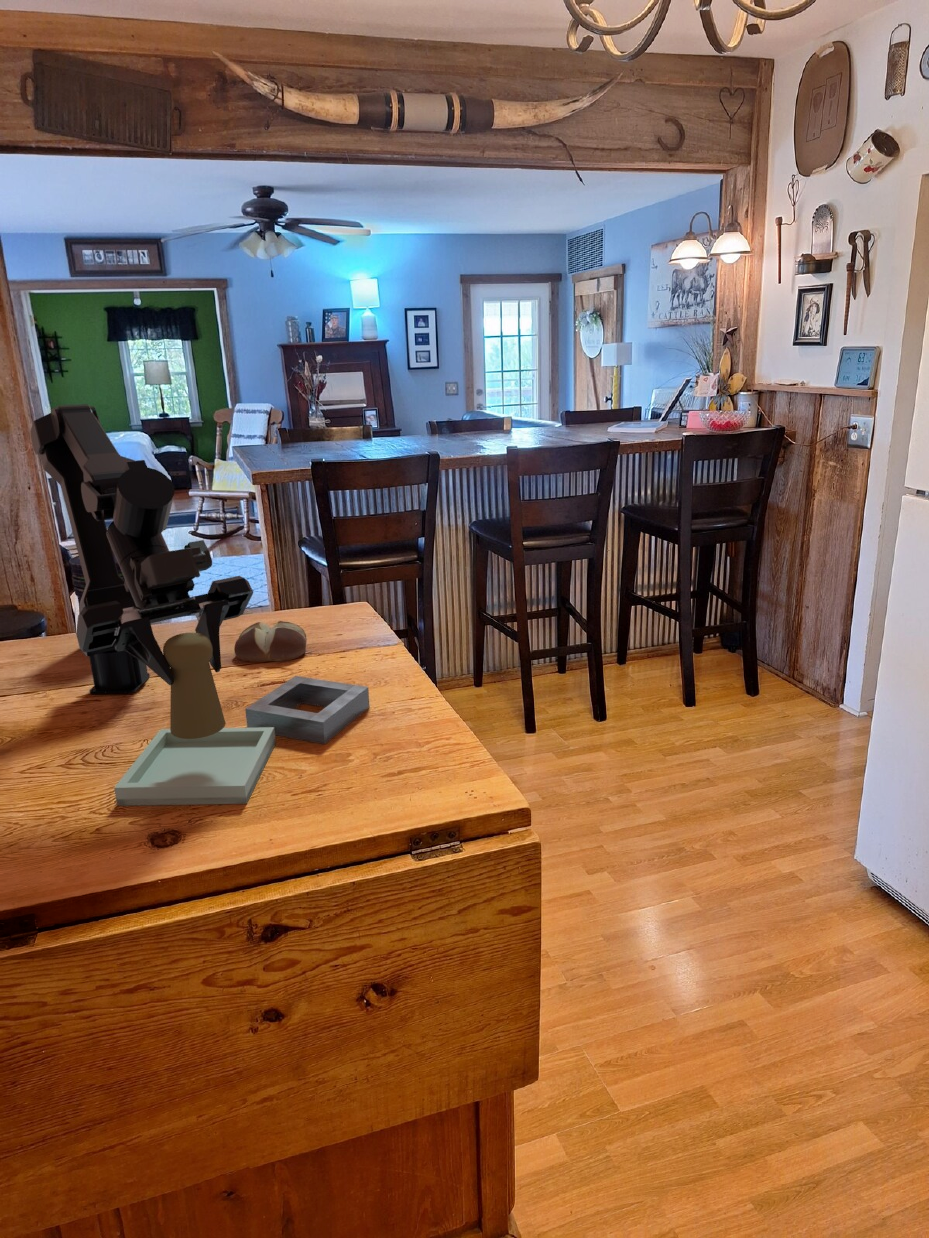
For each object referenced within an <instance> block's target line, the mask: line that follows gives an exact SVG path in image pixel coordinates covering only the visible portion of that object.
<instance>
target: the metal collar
mask: <svg viewBox="0 0 929 1238" xmlns="http://www.w3.org/2000/svg"><path fill="white" fill-rule="evenodd" d="M369 694H370V693H369V686H366V685H365V686H364V685H358V684H353V683H352V684H351V683H345V682H338V681H333V680H325V679H319V678H313V677H312V678H311V677H306V676H301V675H300V676H298V675H294V676H293V677H292V678H290V679H288V680H287V681H285V682H283V684H281V685H279V686H278V687H276V688H274V689H273V690H272V691H270V692H269V693H267V694H265V695H264V696H262V697H261V698H260V699H258V700H256V701H254V702H253V703H252V704H249V706H247V707H246V708H245V709H244V711H245V718H246V720H245V721H246V728H258V727H274V730H275V736H279V737H283V738H289V739H295V740H298V741H299V740H301V741H305V742H310V743H317V744H320V745H321V744H322V745H326V744H327V743H328V742H330V741H331V740H332V739H333V738H335V737H336V735H339V733H341V731H343V730H344V729H345V728H346V727H348V726H349V725H350V724H351V723H352V722H353V721H354V720H356V719H358V717H360V716H361V715H362V714H363V713H365V712H366V711H367V710H368V709H369V708H370V695H369ZM301 704H305V705H309V706H310V705H312V706H316V707H323V709H322V710H320V711H319V712H312V711H308V710H307V711H306V710H302V709H301V710H300V709H296V708H297V707H298V706H299V705H301Z"/></svg>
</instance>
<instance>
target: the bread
mask: <svg viewBox="0 0 929 1238" xmlns="http://www.w3.org/2000/svg"><path fill="white" fill-rule="evenodd" d="M306 648H307V635H306V632H305V630H304V629H303V628H302V627H301V626H300V625H298V624H297V623H293V622H290V621H282V620H279V621H277V622H276V623H275V624H274V625H273V626H272V627H271V626H270V625H268V624H267V623H264V622H259V621H258V622H255V623H254V624H251V625H249V626H248V627H246V628H245V629H243V630H242V632H241V633H240V635H239V636H238V639H236V641H235V644H234V648H233V649H234V654H235V656H236V657H237V659H239V660H240V661H243V662H248V661H250V662H251V663H265V662H287V661H292V660H295V659H298V658H300V657H302V655H303V654H304V653H306ZM264 661H265V662H264ZM250 662H249V663H250Z"/></svg>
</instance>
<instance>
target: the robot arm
mask: <svg viewBox="0 0 929 1238" xmlns="http://www.w3.org/2000/svg"><path fill="white" fill-rule="evenodd" d="M99 417H100V416H98V413H97V410H96V408H95V407H94V405H89V404H65V405H57V406H56V407H52V409H51V411H50V413H47V414H45V415H42V416H41V417H39V418H37V419H35V420H33V422H32V425H31V428H30V440H31V445H32V448H33V451H34V454H35V455H36V456H37V455H39V458H40V461H41V465H42V468H43V470H44V471H45V472H46V473H47V474H48V475H49V476H50V477H51V478H52V479H54V480H55V482H57V484H59V485H60V488H61V492H62V497H63V500H64V504H65V505H64V506H65V508H66V509H65V510H66V511H67V515H68V520H69V524H70V528H71V531H72V535H73V539H74V543H75V547H76V551H77V554H78V555H77V556H79V559H80V563H81V567H82V571H83V575H84V578H85V583H86V587H85V589H84V592H83V595H82V598H81V601H80V603H79V602H78V608H79V614H77V615H78V616H77V621H76V622H77V624H76V632H75V634H76V639H77V643H78V647H79V649H80V650H81V652H82V653H83V654H84V655H85V656H86V658H87V657H88V658H89V664H90V669H91V676H92V680H93V686H92V687H91V688H90V689H89V690H88V692H89V694H90V695H100V694H101V695H109V694H112V695H113V694H118V695H119V694H134V693H136V692H137V691H138V690H139V689H140V688H141V687H142V685H144V683H146V682H147V680H149V679H150V677H151V675H150V673H149V672H148V668H149V669H150V670H151V671H152V672H154V673H155V674H156V675H157V676H158V677H159V678H160V679H162V680H163V681H164V682H165V683H166V684H167V685H168V686H171V685H173V683H174V677H173V674H172V672H171V667H170V666H169V664H168V663H167V661H166V659H165V657H164V655H163V650H162V649H161V647H160V645H159V643H158V641H157V640H156V638H155V634H154V633H153V632H154V631H153V627H152V624H155V623H159V622H164V621H169V620H172V619H177V618H181V617H185V616H190V615H195V618H196V620H197V624H196V627H195V629H194V632H195V633H200V634H203V635H205V636H207V637H208V638H209V639H210V642H211V644H212V648H213V654H212V658H211V659H210V661H209V664H210V667H212V669H213V670H214V672H215V673H219V672H220V671H221V669H222V660H221V642H220V627H221V626H222V624H223V622H224V621H227V620H228V621H229V620H231V619H235V618H240V617H241V616H242V615H244V613H245V610H246V609H247V606H248V604H249V603H250V601H251V598H252V596H253V594H254V590H253V588H252V586H251V584H250V582H249V580H247V579H246V578H245V577H243V576H241V575H237V576H232V577H226V578H221V579H217V580H212V582H211V583H210V585H209V586H210V587H209V589H208V591H207V593H203V594H199V595H195V596H191V595H190V594H189V592H191V591H194V588H195V586H196V585H195V582H194V579H195V578H199V577H200V576H201V574H200V572H203V571H207V570H208V569H210V568H211V567H212V566H213V559H212V556H211V553H210V549H209V548H208V546H207V544H206V543H205V541H204V540H203V539H201V540H195V541H189V542H188V543H187V544H185V545H184V547H183V548H181V549H176V550H169V549H170V548H169V547H168V544H167V543H166V540H165V538H164V536H163V532H164V531H166V530H167V527H168V522H169V519H170V516H171V515H170V514H171V511H172V505H173V501H174V497H175V485H174V483H173V481H172V479H170V478H169V477H168V476H167V475H165V474H164V473H163V472H161V471H159V470H158V469H154V468H151V467H148V464H147V463H146V461H145V460H144V459H139V460H135V459H131V458H129V457H126V456H122V455H121V454H120V453H119V452H118V450H117V448H116V447H115V446H114V444H113V442H112V441H111V439H110V438H109V436H108V434H107V433H106V431H105V429H104V428H103V427H102V425H101V421H100V418H99ZM106 520H107V521H108V520H112V522H111V523H109V525H108V527H107V525H106ZM113 552H114V554H115V557H116V559H117V562H118V564H119V566H120V569H121V571H122V574H123V576H124V578H125V581H124V580H123V579H122V578H121V577H120V576H119V574H118V570H117V566H116V563H115V559H114V555H113Z"/></svg>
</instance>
